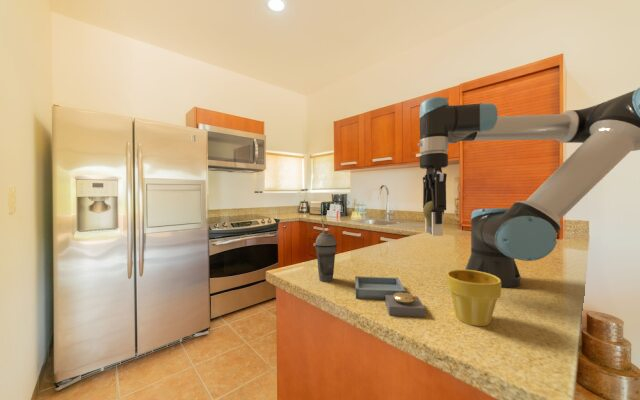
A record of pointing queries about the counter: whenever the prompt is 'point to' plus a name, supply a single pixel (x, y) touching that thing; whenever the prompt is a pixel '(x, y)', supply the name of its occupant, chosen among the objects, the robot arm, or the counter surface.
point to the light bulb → (429, 214)
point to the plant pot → (473, 295)
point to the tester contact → (404, 297)
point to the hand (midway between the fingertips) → (433, 233)
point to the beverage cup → (325, 255)
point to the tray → (377, 287)
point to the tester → (404, 307)
